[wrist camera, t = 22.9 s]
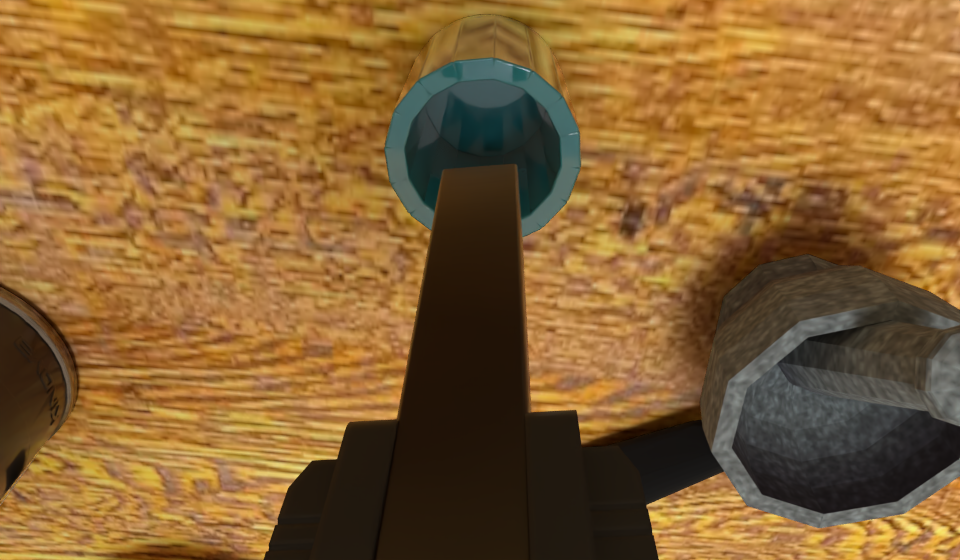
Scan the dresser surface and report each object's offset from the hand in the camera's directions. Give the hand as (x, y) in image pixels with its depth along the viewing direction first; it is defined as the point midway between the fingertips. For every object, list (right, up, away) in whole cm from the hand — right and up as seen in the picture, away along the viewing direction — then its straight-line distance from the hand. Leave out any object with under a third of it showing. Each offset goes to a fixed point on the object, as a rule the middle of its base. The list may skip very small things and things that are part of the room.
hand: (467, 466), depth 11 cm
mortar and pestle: (+13, +2, +21) cm, 25 cm away
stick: (0, +5, +8) cm, 9 cm away
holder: (0, +9, +17) cm, 20 cm away
